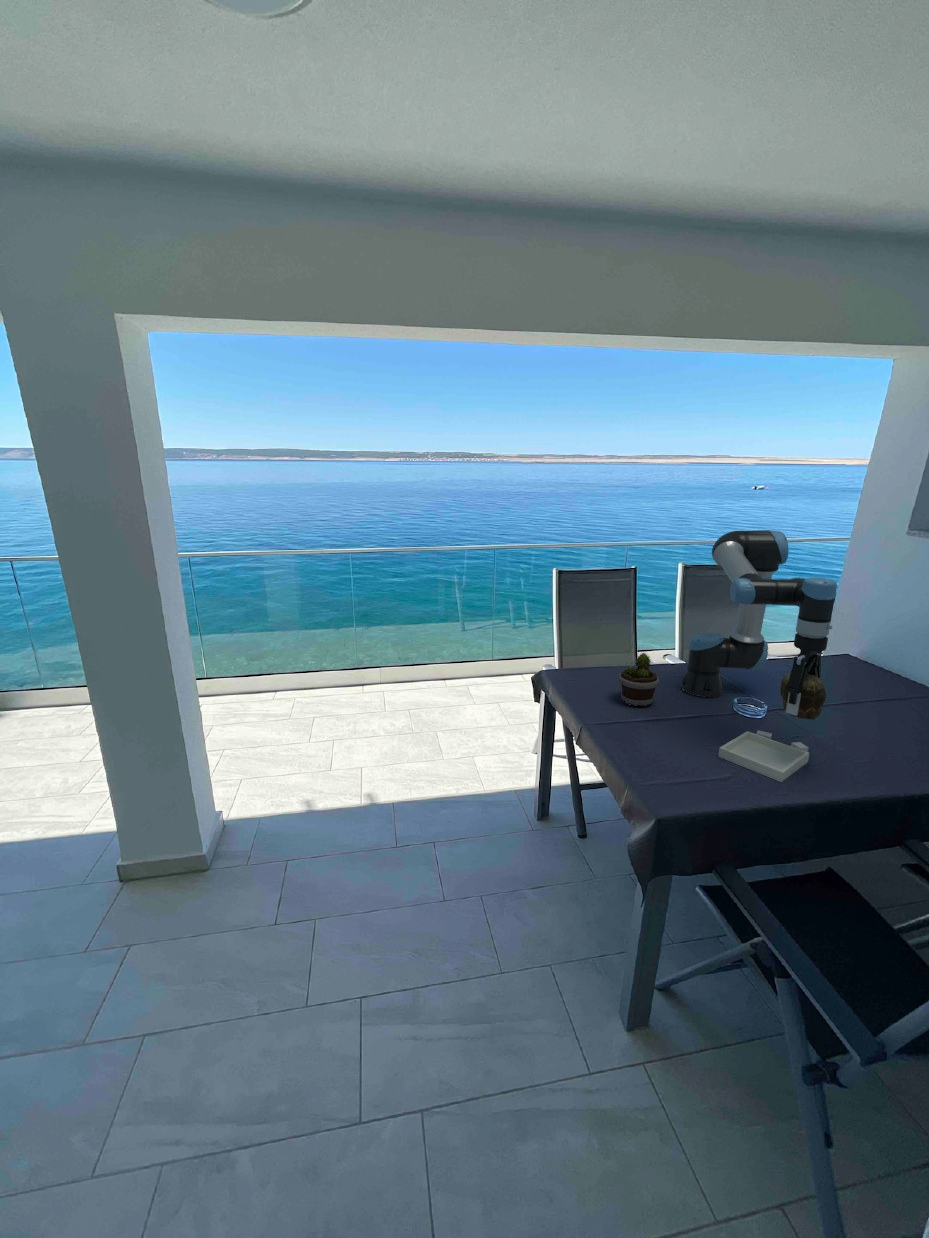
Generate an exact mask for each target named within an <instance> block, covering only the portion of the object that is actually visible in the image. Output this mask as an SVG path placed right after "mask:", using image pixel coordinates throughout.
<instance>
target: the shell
mask: <svg viewBox="0 0 929 1238" xmlns="http://www.w3.org/2000/svg"><path fill="white" fill-rule="evenodd" d="M790 674H791V672H789V673H787V674H785V675H784V676H783V677H782V679H781V684H780V692H779V693H780V696H781V698H782V708H783V710H784V711H785V712H786V707H787V701H788V695H789V692H788V691H785V689H786V688H787V685H788V681H789V678H790ZM820 679H821V678H818V677H816V676H814V675H810V674H808V673H807V674H806V677H805V679H804V682H803V685H802V687H801V690H800V693H801V697H800V703H799V709H798V715H797V716H795V715H792V714H789V713H787V714H788V715H790V716H792V717H795V718H799V719H804V720H812V721H813V720H814V721H816V719H817V718H818V717H819V716H821V712H822V709H823V705H824V703H825V702H826V700H827V693H826V689H825V685H824V683H823V680H822V679H821V680H820ZM794 689H795V688H794Z"/></svg>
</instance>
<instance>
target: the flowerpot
mask: <svg viewBox="0 0 929 1238" xmlns="http://www.w3.org/2000/svg"><path fill="white" fill-rule="evenodd" d="M650 658H651V656H650V655H649V654H647V652H645V651H643V652H641V653H639V654H638V655H637V656H636V659H635V662H634V664H635V667H634V666H628V667H627V665H626V667H625V668H626V669H623V670H622V671H621V672H619V674H618V676H617V677H618V679H617V681H618V684H620V685H621V690H622V691H621V692H620V696H621V700H622V701H623V702H624V701H625V702H627V703H628V704H631V706H632V705H640V706H644V707H645V705H649V704H650V705H651V704H653V702H654V699H655V696H654V693H655V692H656V688H658V687H659V686H660V685H659V684H660V678H659V677H658V675H657V674H656V672H653V671H651V667H652V664H651V663H653V660H652V658H651V659H650ZM650 705H649V706H650ZM640 706H639V707H640Z"/></svg>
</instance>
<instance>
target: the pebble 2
mask: <svg viewBox="0 0 929 1238" xmlns="http://www.w3.org/2000/svg"><path fill="white" fill-rule="evenodd" d="M790 746H791V747H794V748H797V749H800V750H803V751H806V752H809V746H807V745H805V744H803V743H802V742H801V741H797V742H793V741H792V742H791V743H790Z"/></svg>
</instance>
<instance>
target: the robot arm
mask: <svg viewBox="0 0 929 1238" xmlns="http://www.w3.org/2000/svg"><path fill="white" fill-rule="evenodd" d="M789 552H790V551H789V542H788V539H787V537H786V535H785V533H784V532H783V531H780V530H779V531H778V530H770V529H767V530H765V529H764V530H762V529H761V530H732V531H728V532H727V533H725V534H722V535H721V536H719V538H718V539H717V540H716V541H715V542H714V543H713V545H712V548H711V557H712V559H713V561H714V562H715V563H716V564H717V565H718V566H719V567H721V568H722V570H723V571H724V572H725V574H726V576H727V577H728V579H729V580H730V581H731V584H730V588H729V589H730V590H729V594H730V600H731V601H732V603H734V604H739V606H738V613H737V617H736V624H735V629H734V630H732V631H731V632H730V633H729V637H724V635H723V634H721V633H718V632H700V633H697V634H695V635H693V636H692V637H691V638H690V642H689V647H688V648H689V651H688V659H687V661H688V662H687V669H686V672H685V674H684V677H683V679H682V681H681V683H680V688H681V687H682V688H683V689H684V690H685V691H687V692H689V693H691V694H694V695H700V696H705V697H704V698H706V697H713V698H717V697H716V696H719V695H721V696H722V695H723V684H722V680H721V676H720V672H721V668H722V669H723V668H725V669H739V670H740V669H742V670H759V669H761V668H762V667H763V666H764V665H765V663H766V662H767V659H768V656H769V645H768V642H767V641H766V640H765V637H764V636H763V634H762V628H763V623H764V617H765V613H766V608H767V606H771V605H772V606H795V607H798V608H799V609H798V615H797V620H796V626H795V632H796V633H795V634H794V641H793V647H794V648H796V649H799V650H800V651H799V653H798V654H797V656H796V655H795V656H794V657H793V664H792V666H791V670H790V673H791V674H790V678H789V681H788V685H787V688H786V689H785V691H788V692H789V695H788V701H787V707H786V711H785V714H788V713H789V714H788V715H790V714H792V715H795V716H797V715H798V709H799V703H800V697H801V693H800V690H801V687H802V685H803V682H804V679H805V677H806V674H807V673H808V674H810V675H814V676H816V677H818V678H819V679H820V680H821V681H822V679H821V677H822V676H821V673H822V655H823V654H822V653H823V652H825V651H826V650H827V646H828V641H829V640H828V639H829V637H827V636H829V633H830V630H832V629H833V626H832V625H831V622H832V619H833V618H832V617H833V611H834V607H835V600H836V597H837V585H838V584H837V582H836V580H834V579H832V578H831V579H830V578H825V577H807V578H804V577H792V578H789V579H787V578H786V579H780V578H777V579H776V578H773V577H772V576H773V574H774V573H776V572H778V571H779V568H780V567H779V566H780V565H783V564H786V563H787V561H788V558H789ZM794 688H795V689H794ZM694 695H693V696H694ZM719 697H720V696H719ZM792 715H791V716H792ZM795 716H794V717H795Z"/></svg>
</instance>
